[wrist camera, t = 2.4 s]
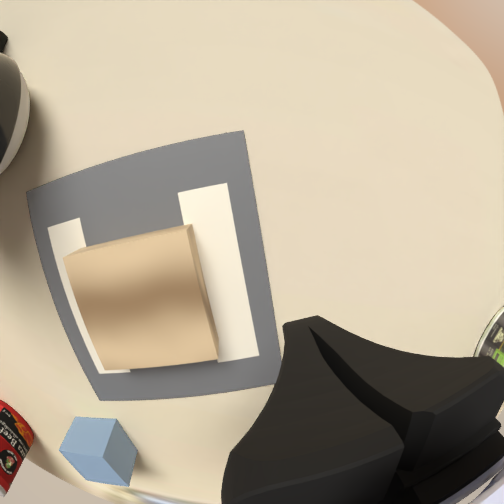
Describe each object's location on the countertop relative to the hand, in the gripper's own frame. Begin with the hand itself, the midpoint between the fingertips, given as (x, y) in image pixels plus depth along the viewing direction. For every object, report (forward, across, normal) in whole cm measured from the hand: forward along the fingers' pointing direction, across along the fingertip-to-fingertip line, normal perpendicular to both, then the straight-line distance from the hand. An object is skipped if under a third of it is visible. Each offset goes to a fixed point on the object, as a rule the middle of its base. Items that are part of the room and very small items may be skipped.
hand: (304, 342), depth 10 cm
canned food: (+9, +34, +14) cm, 38 cm away
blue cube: (+9, +18, +14) cm, 25 cm away
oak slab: (+8, +8, 0) cm, 12 cm away
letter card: (+8, +8, 0) cm, 12 cm away
